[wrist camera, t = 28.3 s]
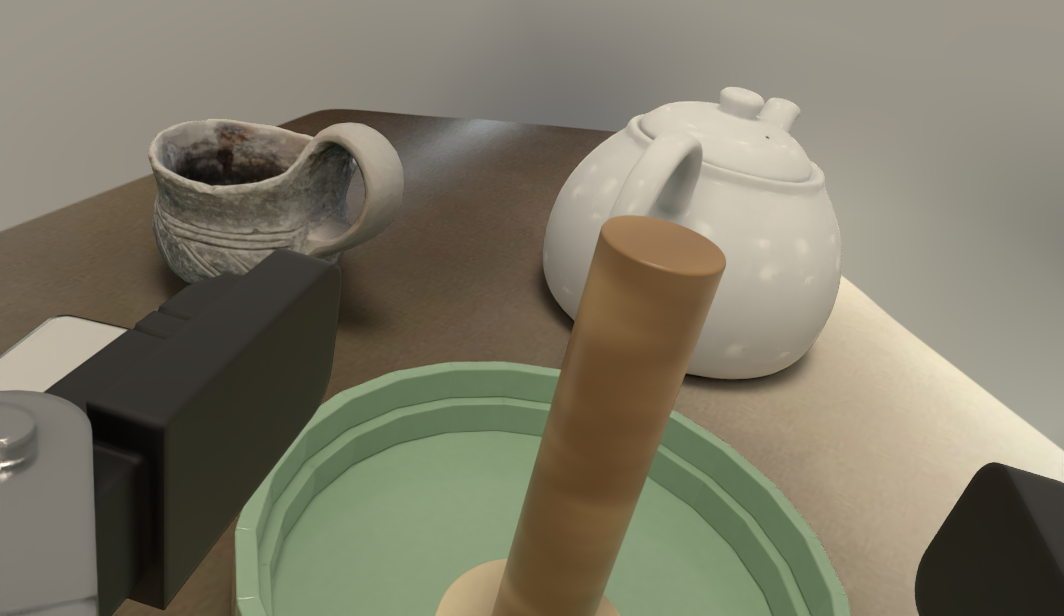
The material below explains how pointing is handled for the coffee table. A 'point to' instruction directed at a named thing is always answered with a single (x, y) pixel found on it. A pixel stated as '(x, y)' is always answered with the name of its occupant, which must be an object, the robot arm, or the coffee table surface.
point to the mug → (266, 193)
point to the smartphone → (53, 352)
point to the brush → (601, 422)
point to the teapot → (715, 223)
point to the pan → (504, 508)
